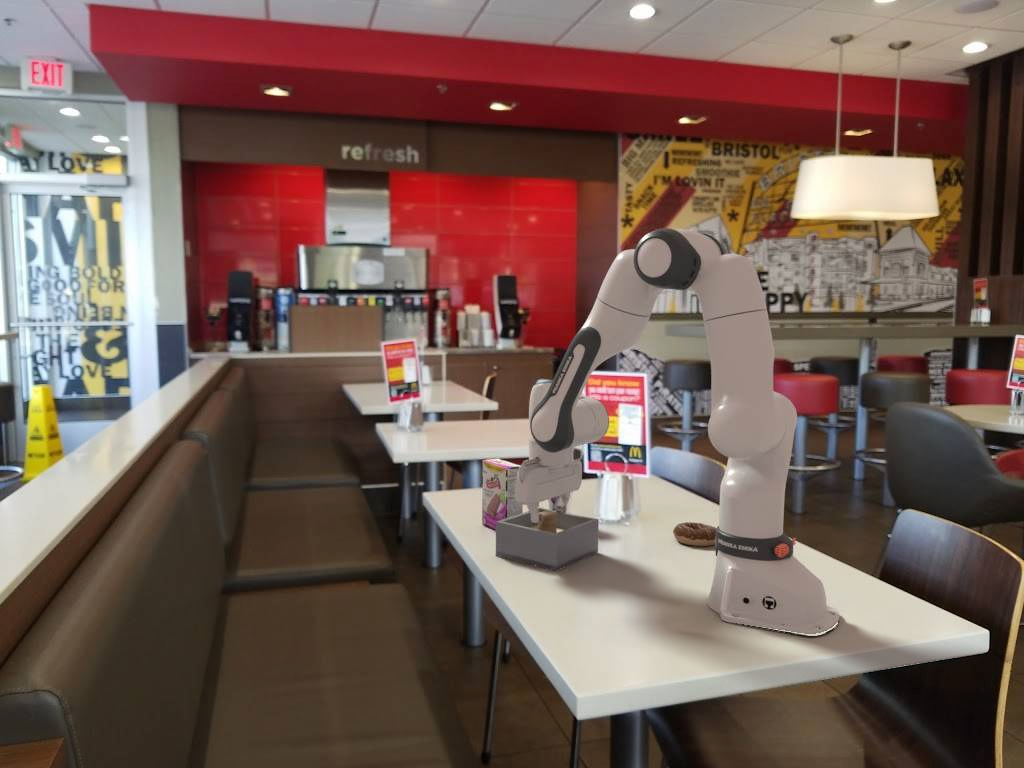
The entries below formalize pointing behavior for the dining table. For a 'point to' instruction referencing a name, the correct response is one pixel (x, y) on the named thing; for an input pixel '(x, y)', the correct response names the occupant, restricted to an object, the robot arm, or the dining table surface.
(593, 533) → the open-top box
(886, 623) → the dining table surface
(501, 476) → the candy bar box
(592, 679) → the dining table surface
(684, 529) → the donut
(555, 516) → the peg
